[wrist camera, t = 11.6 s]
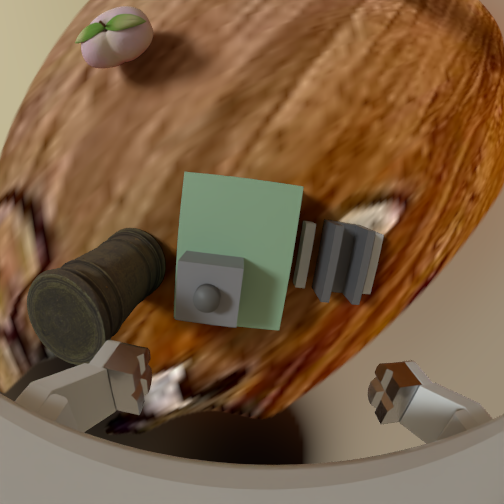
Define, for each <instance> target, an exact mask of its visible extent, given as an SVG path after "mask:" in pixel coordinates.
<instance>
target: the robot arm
mask: <svg viewBox="0 0 504 504" xmlns="http://www.w3.org/2000/svg"><path fill="white" fill-rule="evenodd" d="M150 359H151V358H150V350H149V349H148V348H145V347H140V346H136V345H131V344H127V343H121V342H118V341H113V340H107V341H106V342H105V343H104V345H103V346H102V347H101V348H100V350H99V351H98V352H97V354H96V355H95V356H94V358H93V359H92V360H91V361H90V363H89V364H87V363H84V364H81V365H78V366H76V367H73V368H70V369H67V370H65V371H62V372H59V373H56V374H53V375H51V376H48V377H45V378H42V379H39V380H36V381H34V382H31V383H30V384H29V385H28V387H27V388H26V389H25V390H24V391H23V392H22V393H21V395H20V396H19V397H18V398H17V399H16V401H15V402H14V401H12V400H10V399H9V398H7V397H5V396H3V395H2V394H0V504H504V414H503V415H501V416H499V417H497V418H495V419H492V417H490V415H489V414H488V413H487V412H486V410H485V409H484V408H483V407H482V406H481V405H480V403H478V402H476V401H474V400H471V399H469V398H467V397H465V396H463V395H461V394H458V393H456V392H454V391H452V390H450V389H448V388H446V387H443V386H441V385H439V384H437V383H432V382H431V380H430V379H429V378H428V377H427V375H426V374H425V373H424V372H423V371H422V369H421V368H420V367H419V366H418V365H417V363H416V362H414V361H404V362H396V363H382V364H379V365H378V366H377V368H376V371H375V375H376V378H374V379H373V380H372V381H371V383H370V385H369V388H368V399H369V402H370V404H371V405H372V406H374V407H375V408H376V411H375V414H376V416H377V418H378V420H379V422H380V424H388V423H395V422H400V424H402V425H403V426H404V427H406V428H407V429H408V430H410V431H411V432H412V433H413V434H415V435H416V436H417V437H419V438H420V439H421V440H422V441H424V442H425V443H426V444H424V445H421V446H417V447H413V448H409V449H405V450H401V451H397V452H393V453H388V454H383V455H378V456H372V457H367V458H360V459H353V460H347V461H338V462H328V463H318V464H300V465H247V464H230V463H219V462H208V461H201V460H193V459H186V458H180V457H174V456H169V455H163V454H159V453H154V452H149V451H145V450H141V449H136V448H132V447H129V446H125V445H121V444H118V443H114V442H111V441H108V440H104V439H101V438H98V437H95V436H92V435H89V434H86V433H84V432H85V431H87V430H88V429H90V428H91V427H92V426H94V425H95V424H97V423H99V422H100V421H101V420H103V419H105V418H106V417H108V416H109V415H111V414H112V413H114V412H115V411H116V410H120V411H124V412H128V413H133V414H138V415H140V412H141V410H142V407H143V405H144V402H145V401H144V395H146V394H148V392H149V390H150V386H151V381H152V370H151V367H150V366H149V365H148V363H149V361H150Z"/></svg>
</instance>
